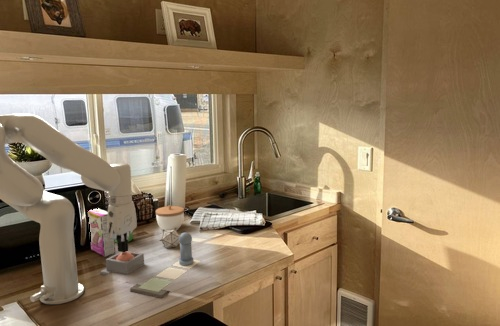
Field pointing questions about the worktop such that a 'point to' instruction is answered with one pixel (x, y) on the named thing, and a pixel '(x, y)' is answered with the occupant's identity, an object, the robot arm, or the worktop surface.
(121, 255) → the dome button
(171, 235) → the game die
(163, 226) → the lidded bowl
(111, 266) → the button housing
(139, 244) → the worktop surface
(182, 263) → the pawn
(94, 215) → the candy bar box
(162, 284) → the track board
